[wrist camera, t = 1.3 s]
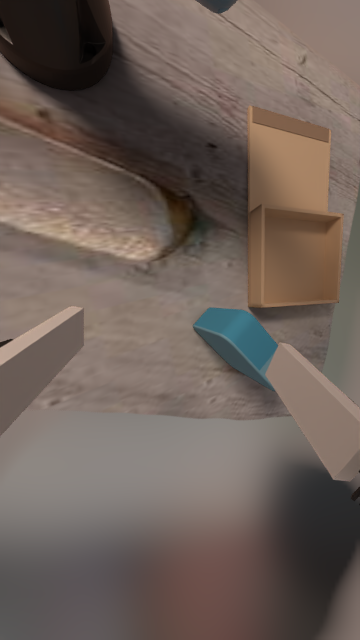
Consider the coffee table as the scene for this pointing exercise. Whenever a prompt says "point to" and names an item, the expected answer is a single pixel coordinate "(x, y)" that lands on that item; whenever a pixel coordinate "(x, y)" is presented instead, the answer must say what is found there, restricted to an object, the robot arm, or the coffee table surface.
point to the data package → (238, 341)
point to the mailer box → (290, 213)
